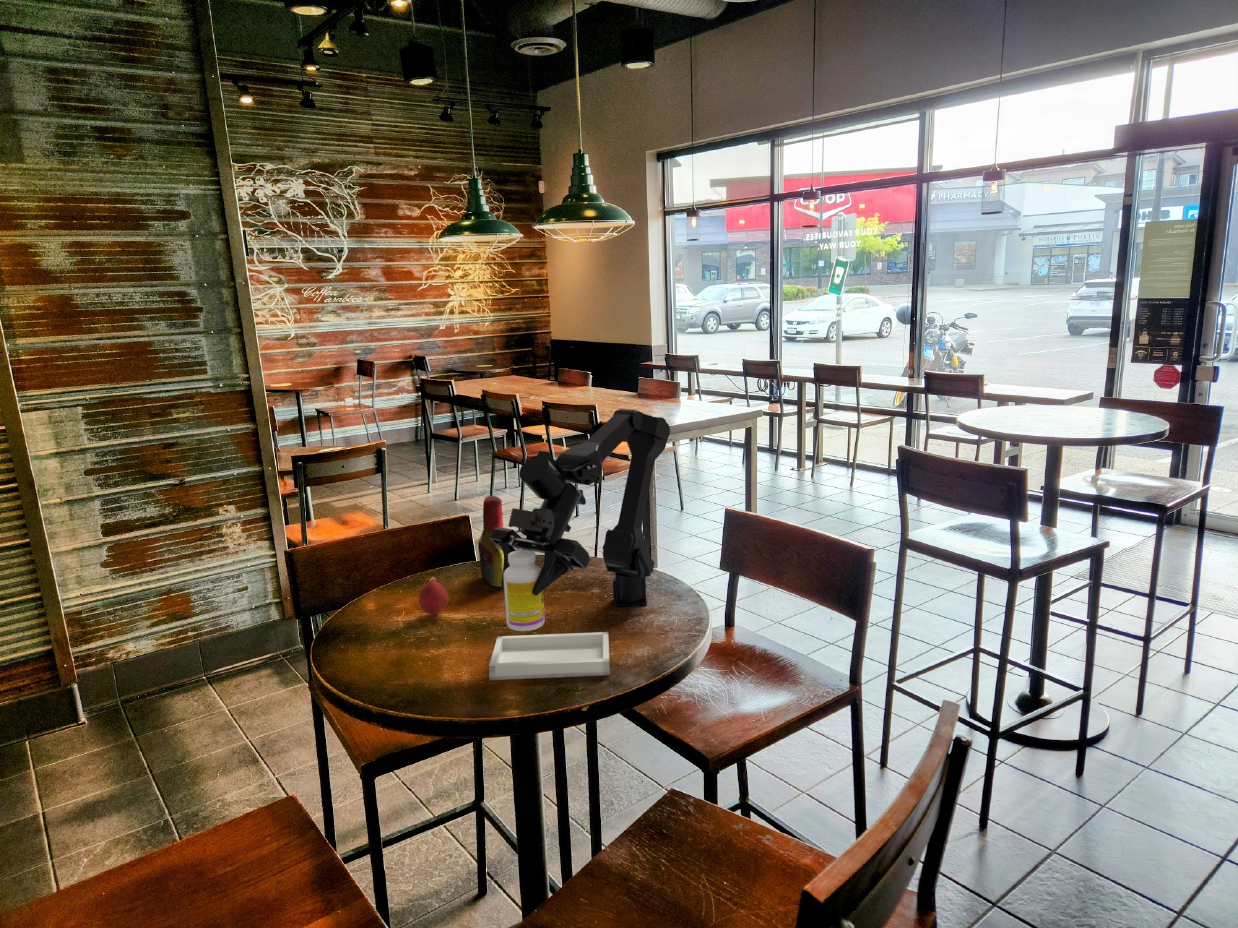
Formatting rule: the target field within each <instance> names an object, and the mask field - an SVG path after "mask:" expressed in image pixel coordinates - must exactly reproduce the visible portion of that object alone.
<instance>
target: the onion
mask: <svg viewBox="0 0 1238 928" xmlns="http://www.w3.org/2000/svg"><path fill="white" fill-rule="evenodd" d="M448 593H449V592H448V591H447V588H445V586H443V585H442V584H441V583H439V582H437V579H436V578H435V577H431V578H430V579H429V581H428V582H427V583H426V584H425V585H423V587H422V588H421V590H420V592H419V595H418V605H419V606H420V608H421V609H422V611H424V612H425V613H427V614H428V615H432V617H433V616H434V617H436V616H438V615H439V614H440V613H441V612H442V611H443V610H444V609H445V608H446V607H447V605H448V602H449V594H448Z"/></svg>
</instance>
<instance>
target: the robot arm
mask: <svg viewBox="0 0 1238 928" xmlns="http://www.w3.org/2000/svg"><path fill="white" fill-rule="evenodd" d="M670 434H671V427H670V425H669V423H668V422H667V420H666V419H665V417H661V416H652V415H648V414H646V413H644V412H641V411H640V410H637V409H629V408H628V409H627V408H619V409H617V410H615V411H614V413H613V414H612V416H611V418H609V419H608V420H607V421H606V422H604V424H603V425H602V426H601V427H600V428H599V429H598V430H596V431H595V432H594V433H593V434H592V435H591V436H590V437H589V438H587V440H585V442H583V443H580V444H577V445H574V446H570V447H569V448H567V449H565V450H564V451H562V452H561V453H560V454H559V455H558V456H557V458H556V459H554V458H553V455H552V454H551V452H549V451H547V450H539V451H538V452H537V455H534V456H532V457H530V458H528V460H526V461H525V462H524V463H522V465H521V466H520V468H519V474H518V475H519V478H520V480H521V481H522V482H523V483H524V485H526V486H527V487H528V488H529V489H530V491H531V492H533V494H534V495H535V496H537V498H538V499H540V500H543V501H542V503H541V506H540V507H539V508H538V507H535V508H533V509H532V510H527V509H526V510H525V509H520V508H519V509H518V508H514V507H513V508H512V509H511V513H510V517H509V521H508V527H509V528H507V527H506V528H505V527H503V528H501V527H498V528H496V529H494V531H493V533H492V535H491V537H490V538H489V539H490V540H491V541H492V542H493V543H494V544H495V545H497V546H498V547H499V548H500V549H501V550H502V551H503V554H504V565H503V574H502V583H501V586H500V587H502V588H503V589H504V572H505V570H506V569H507V568H508V567H510V564H509V562H508V554H509V553H511V552H514V551H518V550H530V551H533V552H535V553H539V554H540V553H541V554H544V559H543V560H544V563H543V565H542V566H541V568H540V569H541V572H540V574H539V576H538V578H537V581H536V583H535V585H534V588H533V591H532V594H534V595H535V596H537V595H538V594H540V593H541V592H542V591H543V592H544V590H545V589H546V588H548V587H549V586H551V584H553V583H554V582H555V581H557V580H558V579H559V578H561V577H562V576H564V575H566V574H567V573H568V572H573V571H574V569H575V568H576V569H581V570H586V569H587V567H588V565H589V563H590V554H589V552H588V551H587V549H586V548H584V547H583V546H582V544H581V543H580V542H579V541H578V540H575V539H568V538H564V537H563V536H564V534H565V532H566V533H570V531H571V529H572V527H571V525H570V524H569V523H570V520H571V518H572V516H573V514H574V512H575V509H576V507H577V505H582V506H584V505H586V504H587V501H586V497H585V496H584V490H583V489H578V488H577V487H576V486H575V484H576V485H583V486H592V484H594V483H595V481H596V480H597V479H598V477H599V476H600V474H601V473H602V471H603V469H604V467H603V466H604V461H605V460H606V459H607V458H608V456H609V455H611V454H612V453H613V452H614V451H615V450H616V449H617V448H618V447H619V446H620V445H621V444H622V442H624V441H625V440H626V444H627V446H628V450H629V452H630V455H631V457H630V462H629V468H628V472H627V478H626V480H625V481H626V482H625V486H624V492H623V497H622V502H621V507H620V513H619V517H618V522H617V524H616V525H615V526H614V527H613V528H612V529H607V530H606V532H605V538H604V542H603V543H604V544H603V546H602V548H601V549H602V558H603V561H604V565H605V569H606V571H607V573H614V576H613V577H612V578H611V579H612V583H611V584H612V600H613V601H615V606H616V607H620V606H622V607H625V606H628V607H629V606H646V605H648V599H647V581H646V578H647V577H651V576H652V573H654V567H655V561H654V560H653V559H652V558H651V556H650V555H649V554H648V553H647V540H646V538H645V537H646V536H645V534H644V531H643V522H644V518H645V513H646V509H647V504H648V503H647V501H648V498H649V493H650V487H651V483H652V482H651V481H652V476H653V472H654V466H655V463H656V460H657V459H658V458H659V457H660V455H661V454H662V453H663V452H664V451H665V449H666V446H667V444H668V439H669V436H670ZM514 527H515V528H518V529H520V531H519V532H520V533H521V534H522V535H523V536H525V537H526V538H524V537H522V536H520V535H519V534H518V532H516V530H514V529H512V528H514Z"/></svg>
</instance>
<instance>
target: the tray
mask: <svg viewBox="0 0 1238 928" xmlns="http://www.w3.org/2000/svg"><path fill="white" fill-rule="evenodd" d="M609 640H610V639H609V632H608V631H603V632H602V631H600V632H598V631H597V632H575V633H574V632H573V633H550V634H547V633H546V634H530V635H527V634H525V635H522V634H521V635H504V636H503V635H502V636H497V638H496V640H495V645H494V649H493V651H492V654H491V658H490V660H489V664H488V673H489V681H501V680H505V681H506V680H522V679H523V680H527V679H545V678H546V679H548V678H550V679H551V678H552V679H553V678H572V677H573V678H574V677H575V678H576V677H597V676H599V677H601V676H610V674H611V672H610V644H609V642H610V641H609Z"/></svg>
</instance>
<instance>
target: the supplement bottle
mask: <svg viewBox="0 0 1238 928" xmlns="http://www.w3.org/2000/svg"><path fill="white" fill-rule="evenodd" d="M536 557H537V556H536V552H534V551H530V550H518V551H514V552H511V553H509V554H508V562H509V564H510V567H508V568H507V569H506V570H505V572H504V588H503V589H504V590H503V591H504V604H505V607H504V608H505V617H506V619H505V620H506V626H507V627H508V629H510V630H513V631H516V632H517V631H518V632H528V631H529V632H530V631H533V630H537V629H539V628H541V627H542V626H543V625H544V624H545V620H546V619H545V618H546V616H545V615H546V614H545V599H544V598H545V597H544V590H543V591H542V592H541V593H540V594H538V595H537V596H535V595H534V594H532V591H533V588H534V585H535V583H536V581H537V578H538V576H539V574H540V572H541V569H542V568H540V567H539V566H538V565H536V560H537V558H536Z"/></svg>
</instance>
